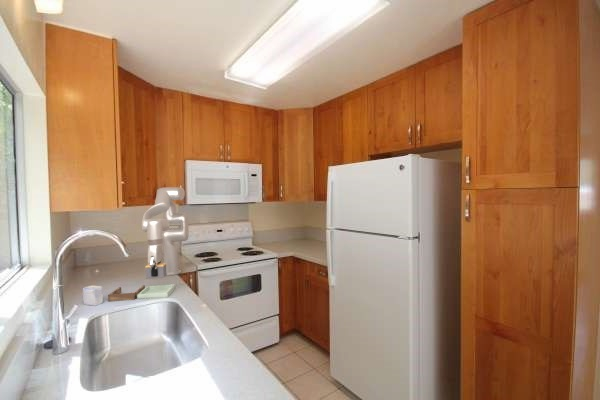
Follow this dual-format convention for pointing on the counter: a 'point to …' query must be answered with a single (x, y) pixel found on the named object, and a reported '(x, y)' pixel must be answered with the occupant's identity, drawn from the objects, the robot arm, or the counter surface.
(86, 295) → the medicine box
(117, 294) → the bay
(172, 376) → the counter surface
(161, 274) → the caddy
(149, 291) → the tray
